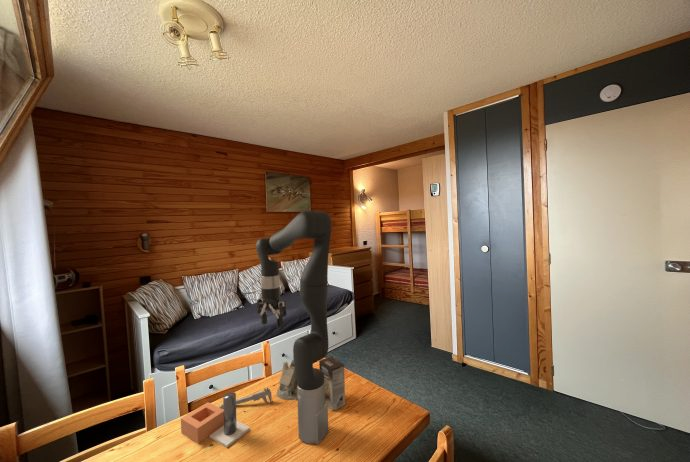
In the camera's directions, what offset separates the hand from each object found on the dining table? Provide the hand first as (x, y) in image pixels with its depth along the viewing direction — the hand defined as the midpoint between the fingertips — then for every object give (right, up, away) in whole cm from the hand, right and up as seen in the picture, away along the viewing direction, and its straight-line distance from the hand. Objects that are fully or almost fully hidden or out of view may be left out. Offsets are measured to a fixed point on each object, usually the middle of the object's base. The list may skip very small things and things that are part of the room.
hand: (271, 325), depth 111 cm
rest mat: (-9, -30, -19) cm, 37 cm away
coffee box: (+25, -30, -4) cm, 39 cm away
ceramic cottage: (+10, -30, +5) cm, 32 cm away
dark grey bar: (-9, -30, -19) cm, 36 cm away
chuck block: (-20, -31, -16) cm, 40 cm away
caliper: (-10, -31, -4) cm, 33 cm away
